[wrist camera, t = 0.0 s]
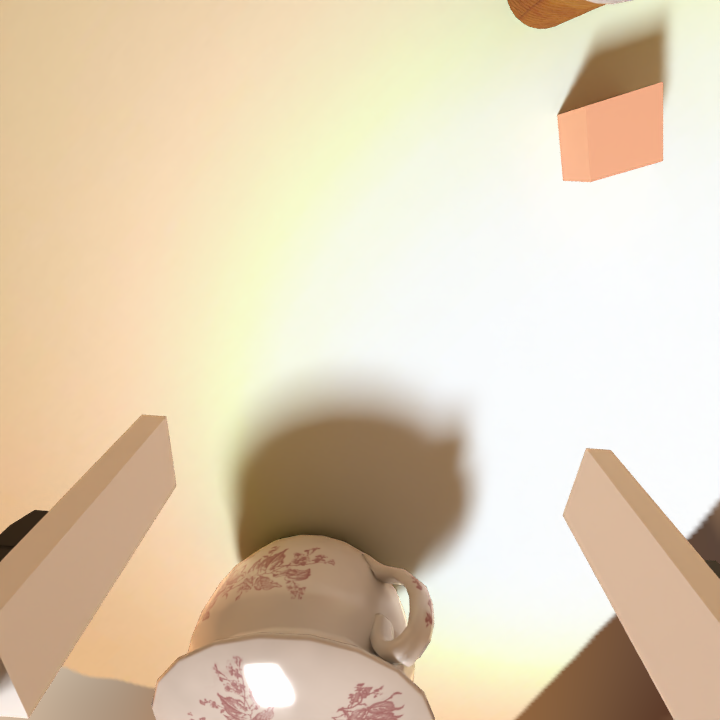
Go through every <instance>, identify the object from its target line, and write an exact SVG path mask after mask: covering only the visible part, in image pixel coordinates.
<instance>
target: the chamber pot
mask: <svg viewBox="0 0 720 720" xmlns="http://www.w3.org/2000/svg"><path fill="white" fill-rule="evenodd" d="M392 584H397V585H404V586H405V587H406V589H407V592H408V595H409V603H410V613H409V619H408V623H407V619H406V615H405V612H404V609H403V606H402V604H401V601H400V599H399V596H398V594H397V591H396V589H395V588H394V587H393V585H392ZM433 627H434V612H433V603H432V600H431V598H430V595H429V592H428V590H427V587H426V586H425V585H424V584H423V583H421V582H420V581H419V580H418V579H416V578H415V577H414V576H413V575H411V574H410V573H409V572H408V571H406V570H405V569H401V568H395V567H391V566H386V565H383V564H381V563H379V562H378V561H376V560H375V559H373V558H372V557H371V556H369V555H368V554H365V553H363V552H362V551H360V550H358V549H356V548H355V547H353V546H351V545H349V544H348V543H346V542H344V541H341V540H338V539H334V538H330V537H327V536H323V535H297V536H292V537H287V538H283V539H278V540H275V541H274V542H272V543H270V544H268V545H266V546H264V547H262V548H260V549H258V550H257V551H256V552H254V553H253V554H251V555H250V556H248V557H247V558H246V559H244V560H243V561H241V562H240V563H239V564H237V565H236V566H235V567H234V568H233V569H232V570H231V571H230V572H229V574H228V575H227V576H226V577H225V578H224V579H223V580H222V581H221V582H220V584H219V585H218V587H217V588H216V590H215V592H214V593H213V595H212V596H211V598H210V599H209V601H208V603H207V604H206V606H205V607H204V609H203V610H202V612H201V615H200V617H199V620H198V622H197V625H196V627H195V630H194V632H193V635H192V639H191V642H190V646H189V650H188V653H187V654H185V655H183V656H181V657H179V658H177V659H176V660H175V661H174V663H173V664H172V665H171V666H170V667H169V668H168V669H167V670H166V671H165V672H164V673H163V674H162V675H161V676H160V677H159V678H158V680H157V683H156V687H155V691H154V696H153V700H152V704H151V705H152V708H153V712H154V715H155V718H156V720H435V717H434V715H433V712H432V710H431V708H430V705H429V703H428V700H427V698H426V696H425V693H424V692H423V691H422V690H421V689H420V688H419V687H418V686H417V685H416V684H415V683H414V682H413V679H414V670H415V661H416V660H417V659H418V658H420V657H421V655H422V654H423V652H424V651H425V649H426V648H427V646H428V644H429V643H430V641H431V636H432V632H433Z"/></svg>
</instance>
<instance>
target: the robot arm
mask: <svg viewBox="0 0 720 720" xmlns="http://www.w3.org/2000/svg"><path fill="white" fill-rule="evenodd" d="M175 487H176V479H175V472H174V466H173V459H172V452H171V445H170V438H169V431H168V424H167V417H166V416H153V415H141V416H140V417H139V418H138V419H137V420H136V421H135V422H134V424H133V425H132V426H131V427H130V428H129V429H128V430H127V431H126V432H125V433H124V434H123V435H122V436H121V437H120V438H119V439H118V440H117V441H116V442H115V443H114V444H113V445H112V446H111V447H110V448H109V449H108V451H107V452H106V453H105V454H104V455H103V456H102V457H101V458H100V459H99V460H98V461H97V462H96V463H95V464H94V465H93V466H92V467H91V468H90V469H89V470H88V471H87V472H86V473H85V474H84V475H83V476H82V478H81V479H80V480H79V481H78V482H77V483H76V484H75V485H74V486H73V487H72V488H71V489H70V490H69V491H68V492H67V493H66V494H65V495H64V496H63V497H62V498H61V499H60V500H59V501H58V502H57V503H56V505H55V506H54V507H53V508H52V509H51V510H50V511H40V510H34V511H32V512H31V513H29V514H27V515H26V516H24V517H23V518H21V519H19V520H18V521H16V522H15V523H13V524H11V525H10V526H9V527H8V528H7V529H6V530H5V531H3V532H2V533H1V534H0V716H5V717H18V718H29V717H30V715H31V714H32V712H33V711H34V709H35V708H36V706H37V705H38V703H39V701H40V700H41V698H42V697H43V695H44V694H45V692H46V690H47V689H48V687H49V686H50V684H51V682H52V681H53V679H54V678H55V676H56V675H57V673H58V672H59V669H60V668H61V667H62V665H63V664H64V662H65V661H66V659H67V657H68V656H69V654H70V653H71V651H72V650H73V648H74V646H75V645H76V643H77V642H78V640H79V638H80V637H81V635H82V634H83V632H84V631H85V629H86V627H87V626H88V624H89V623H90V621H91V620H92V618H93V616H94V615H95V613H96V612H97V610H98V609H99V607H100V605H101V604H102V602H103V601H104V599H105V598H106V596H107V594H108V593H109V591H110V590H111V588H112V587H113V585H114V583H115V582H116V580H117V579H118V577H119V575H120V574H121V572H122V571H123V569H124V568H125V566H126V564H127V563H128V561H129V560H130V558H131V557H132V555H133V553H134V552H135V550H136V549H137V547H138V546H139V544H140V542H141V541H142V539H143V538H144V536H145V535H146V533H147V531H148V530H149V528H150V527H151V525H152V524H153V522H154V520H155V519H156V517H157V516H158V514H159V513H160V511H161V509H162V508H163V506H164V505H165V503H166V501H167V500H168V498H169V497H170V495H171V494H172V492H173V490H174V489H175ZM563 517H564V519H565V521H566V522H567V524H568V526H569V528H570V530H571V532H572V533H573V535H574V537H575V539H576V541H577V543H578V544H579V546H580V548H581V550H582V552H583V554H584V555H585V557H586V559H587V561H588V563H589V565H590V566H591V568H592V570H593V572H594V574H595V576H596V577H597V579H598V581H599V583H600V585H601V587H602V588H603V590H604V592H605V594H606V596H607V598H608V599H609V601H610V603H611V605H612V607H613V609H614V611H615V612H616V614H617V616H618V618H619V620H620V622H621V623H622V625H623V627H624V629H625V630H626V632H627V634H628V636H629V638H630V640H631V641H632V644H633V645H634V647H635V649H636V651H637V653H638V655H639V656H640V658H641V660H642V662H643V664H644V666H645V667H646V669H647V671H648V673H649V675H650V677H651V678H652V680H653V682H654V684H655V686H656V688H657V689H658V691H659V693H660V695H661V697H662V699H663V700H664V702H665V704H666V706H667V708H668V710H669V712H670V713H671V715H672V717H673V719H674V720H720V564H719V563H717V562H716V561H708V560H703V559H702V557H701V556H700V555H699V554H698V553H697V552H696V551H695V549H694V548H693V547H692V546H691V544H690V543H689V542H688V541H687V540H686V539H685V537H684V536H683V535H682V534H681V533H680V531H679V530H678V529H677V528H676V527H675V526H674V524H673V523H672V522H671V521H670V520H669V518H668V517H667V516H666V515H665V514H664V513H663V511H662V510H661V509H660V508H659V507H658V505H657V504H656V503H655V502H654V501H653V500H652V498H651V497H650V496H649V495H648V494H647V492H646V491H645V490H644V489H643V488H642V487H641V485H640V484H639V483H638V482H637V481H636V479H635V478H634V477H633V476H632V475H631V473H630V472H629V471H628V470H627V469H626V468H625V466H624V465H623V464H622V463H621V462H620V460H619V459H618V458H617V457H616V456H615V455H614V453H613V452H612V451H611V450H603V449H590V448H586V450H585V453H584V456H583V459H582V461H581V464H580V467H579V470H578V473H577V476H576V479H575V481H574V484H573V487H572V490H571V493H570V496H569V499H568V501H567V504H566V507H565V510H564V513H563Z"/></svg>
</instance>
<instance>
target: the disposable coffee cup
mask: <svg viewBox="0 0 720 720" xmlns="http://www.w3.org/2000/svg"><path fill="white" fill-rule="evenodd" d="M626 1H631V0H508V4H509V6H510V8H511V10H512V12H513V13H514V15H515V16H516V17H517V18H518V19H519V20H520V21H521V22H523V23H524V24H526V25H528V26H529V27H533V28H537V29H546V28H550V27H555V26H557V25H559V24H561V23H563V22H565V21H568V20H570V19H573V18H575V17H577V16H580V15H582V14H584V13H586V12H589V11H591V10H593V9H595V8H598V7H600V6H603V5H605V4H616V3H621V2H626Z"/></svg>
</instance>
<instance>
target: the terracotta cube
mask: <svg viewBox="0 0 720 720" xmlns="http://www.w3.org/2000/svg"><path fill="white" fill-rule="evenodd" d="M557 117H558V129H559V140H560V151H561V163H562V174H563V181H581V182H592V181H596V180H599V179H602V178H606V177H609V176H613V175H616V174H620V173H623V172H627V171H630V170H633V169H637V168H640V167H644V166H647V165H651V164H654V163H657V162H661V161H663V82H660V83H657V84H654V85H651V86H648V87H644V88H641V89H638V90H635V91H632V92H628V93H625V94H622V95H619V96H616V97H612V98H609V99H606V100H603V101H600V102H597V103H593V104H590V105H587V106H584V107H581V108H578V109H575V110H571V111H568V112H565V113H562V114H559V115H557Z"/></svg>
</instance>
